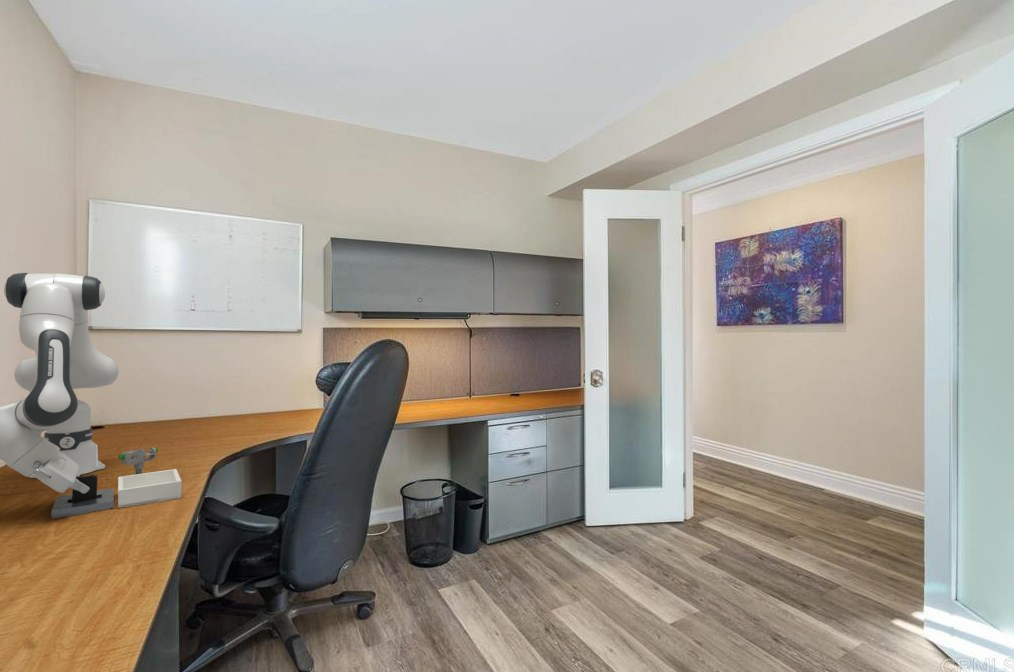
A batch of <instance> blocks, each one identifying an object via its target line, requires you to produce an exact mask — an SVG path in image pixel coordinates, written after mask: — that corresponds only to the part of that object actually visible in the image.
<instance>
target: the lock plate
mask: <svg viewBox="0 0 1014 672" xmlns="http://www.w3.org/2000/svg"><path fill="white" fill-rule="evenodd" d="M114 495H115V488H114V487H112V488H105V489H97V499H92V500H86V501H80V502H73V503H72V493H71V494H66V495H58V496H56V499H55V501H54V504H53V507H52V509H51V520H54V519H60V518H66V517H72V516H78V515H83V514H89V513H88V512H90V513H93V512H92V511H96V512H99V511H98V510H102V511H105V510H104V509H108V510H110V509H109V508H113V509H114V504H115V503H114V501H115V500H114V497H115V496H114Z"/></svg>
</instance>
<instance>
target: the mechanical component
mask: <svg viewBox="0 0 1014 672" xmlns="http://www.w3.org/2000/svg"><path fill="white" fill-rule="evenodd" d="M148 451H149V452H147V451H146V450H145V449H143V448H139V449H135V450H134V449H133V450H130V451H129V450H127V451H123V452H120V454H119V455H118V460H120V461H121V464H122V465H127V466H132V465H133V469H135V475H136V474H143V468H145V466H144V463H146V462H151V461H154V460H156V458H157V453H158V451H159V449H158V447H150V448H149V450H148ZM146 457H148V458H146Z"/></svg>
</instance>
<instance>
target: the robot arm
mask: <svg viewBox="0 0 1014 672" xmlns="http://www.w3.org/2000/svg"><path fill="white" fill-rule="evenodd" d="M3 293H4V296H5V299H6V300H7V303H8V304H9V305H11V306H12V307H14V308H17V309H21V310H20V316H19V325H18V331H19V337H20V342H21V343H22V345H23V346H24V347H26V348H27V349H29V350H31V351H34V352H35V354H36V357H32V358H31V357H30V358H25V359H23V360H22V361H20V362H19V363H18V364H17V366H16V367H15V369H14V373H13V375H14V380H15V382H16V383H17V384H18V386H19V387H20V388H22V389H24V390H26V391H28V392H29V394H28V395H27V396H26V397H24V398H23V399H21V400H18V401H16V402H13V403H9V404H5V405H2V406H0V460H1V461H3V462H4V463H5V465H6V466H7V467H8V468H10V469H13V470H14V471H16V472H18V473H19V474H21V475H22V476H24V477H25V478H29V479H37V480H39V481H40V482H41V483H43V484H44V485H46V486H47V487H49V488H51V489H52V490H54V491H55V492H57V493H60V494H63V493H65V492H66V491H67V490H68V489H75V490H78V491H80V492H81V493H83V494H85V493H86V492H87V491H88V490H89V489H90V487H89V486H88V485H86V484H83V483H82V482H80V481H79V480H77V479H76V477H78V476H82V475H84V474H88V473H92V472H94V471H99V470H104V469H105V468H106V465H105V464H104V463H102V462H101V461H100V460H99V457H100V455H99V454H98V445H97V443H95V442H94V441H93V440H92V439H93V428H92V427H91V412H92V411H91V406H90V405H89V404H88V403H87V402H85V401H84V400H80V399H78V398H77V395H76V393H75V391H74V390H77V389H78V390H79V389H95V388H101V387H106V386H111V385H112V384H113V383H115V381H116V379H117V378H118V376H119V371H120V370H119V366H118V364H117V363H116V361H115V360H114V359H113V358H111V357H109V356H107V355H105V354H104V353H102V352H101V351H99V350H98V349H97V348H96V346H95V345H94V343H93V342H92V340H91V337H90V331H89V324H88V323H89V320H88V312H87V311H91V310H96V309H99V308H100V307H101V306H102V303H103V302H104V300H105V296H106V291H105V287H104V286H103V284H102V281H101V280H100V279H98V278H97V277H93V276H91V275H90V276H89V275H83V276H82V275H77V274H69V273H58V272H57V273H45V272H43V273H39V272H38V273H28V272H19V273H14V274H12V275H10V276H9V277H7V278H6V282H5V284H4V287H3ZM43 432H44V434H43V435H44V436H42V433H43Z"/></svg>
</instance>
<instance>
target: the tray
mask: <svg viewBox="0 0 1014 672" xmlns="http://www.w3.org/2000/svg"><path fill="white" fill-rule="evenodd" d="M117 477H118V478H117V481H118V483H117V484H118V487H117V488H118V489H117V493H118V494H117V509H118V508H120V509H123V508H122V507H126V508H130V507H129V506H131V507H137V506H142V505H147V504H149V505H150V504H155V503H159V502H166V501H172V500H177V499H182V478H181V476H180V474H179V472H178V470H177V468H174V469H166V470H158V471H151V472H145V473H143V472H142V474H136V473H135V474H130V475H124V476H123V475H122V476H117ZM136 505H137V506H136Z"/></svg>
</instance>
